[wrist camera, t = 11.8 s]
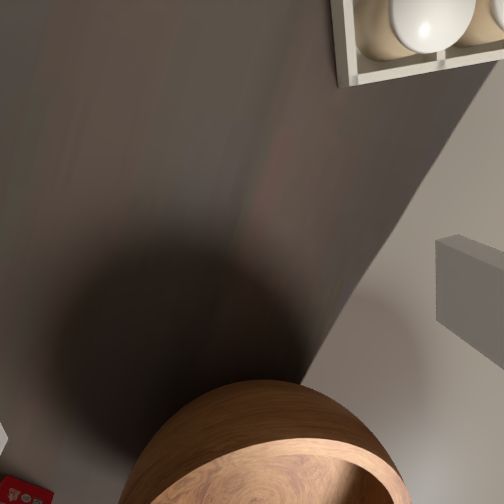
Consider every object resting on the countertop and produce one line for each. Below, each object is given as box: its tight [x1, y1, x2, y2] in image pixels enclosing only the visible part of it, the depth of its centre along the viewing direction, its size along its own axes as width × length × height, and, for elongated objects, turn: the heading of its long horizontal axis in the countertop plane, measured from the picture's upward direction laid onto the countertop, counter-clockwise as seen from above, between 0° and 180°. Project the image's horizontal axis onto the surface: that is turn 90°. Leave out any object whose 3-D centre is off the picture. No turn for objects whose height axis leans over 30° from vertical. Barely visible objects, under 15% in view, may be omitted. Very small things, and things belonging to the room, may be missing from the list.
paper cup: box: [353, 0, 476, 62], centre depth 32 cm, size 6×6×7 cm
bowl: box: [118, 380, 412, 504], centre depth 39 cm, size 25×25×15 cm
